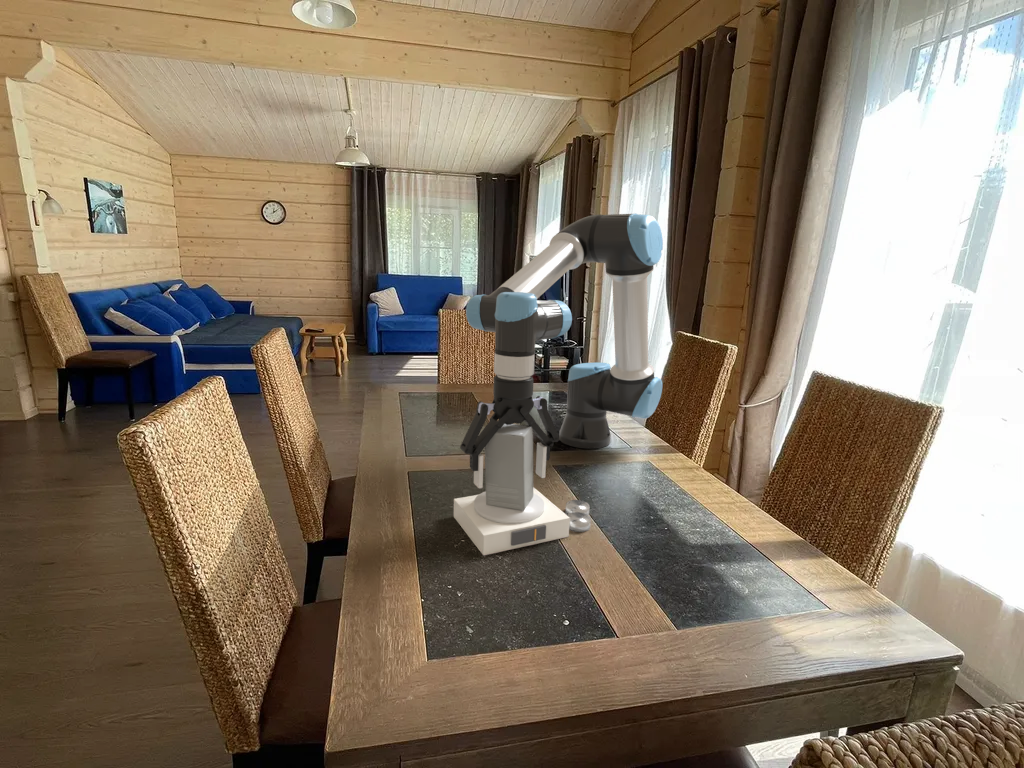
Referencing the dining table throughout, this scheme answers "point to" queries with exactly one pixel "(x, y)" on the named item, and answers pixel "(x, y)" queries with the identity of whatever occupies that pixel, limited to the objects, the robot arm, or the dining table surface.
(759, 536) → the dining table surface
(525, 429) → the skincare box
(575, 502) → the spacer
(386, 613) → the dining table surface
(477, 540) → the scale
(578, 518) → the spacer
